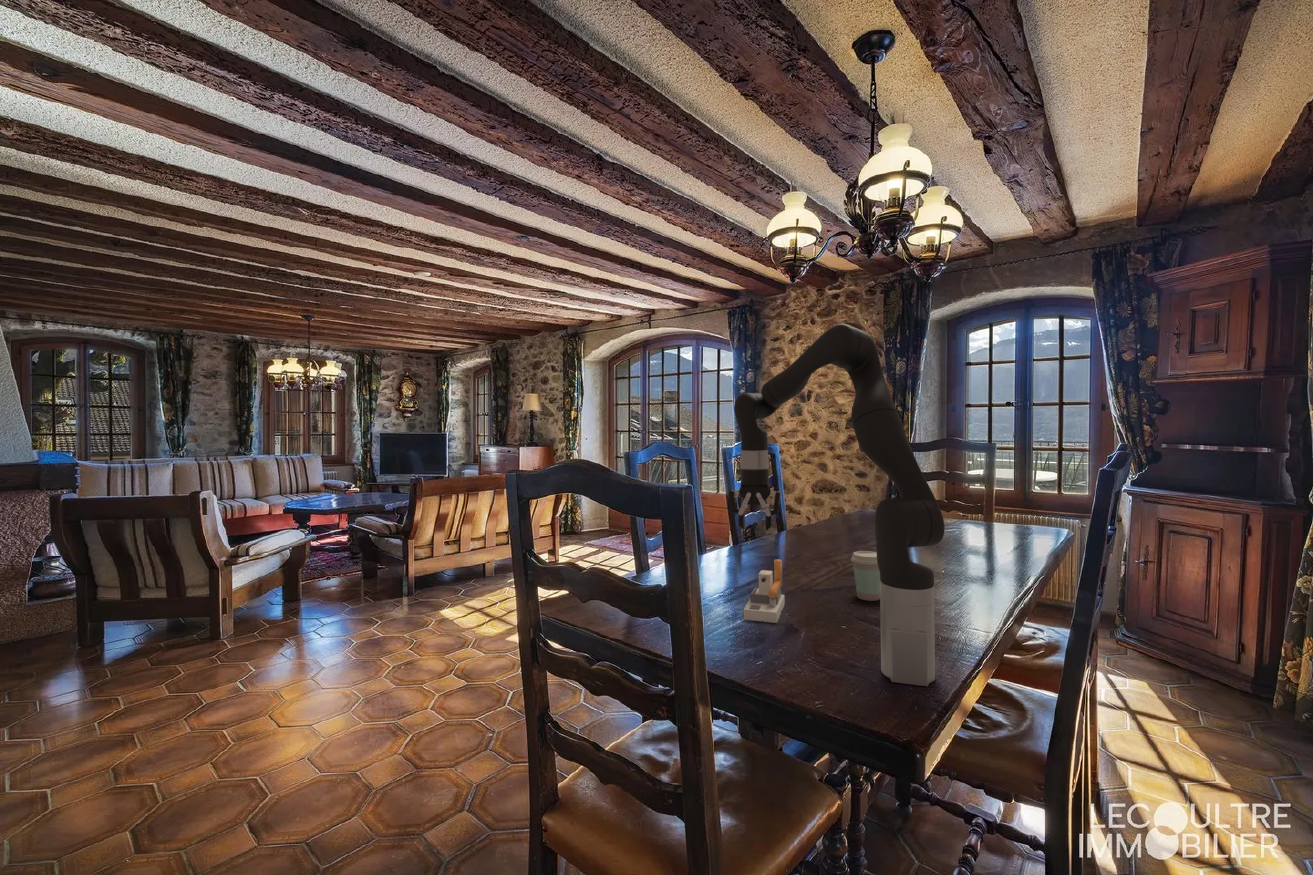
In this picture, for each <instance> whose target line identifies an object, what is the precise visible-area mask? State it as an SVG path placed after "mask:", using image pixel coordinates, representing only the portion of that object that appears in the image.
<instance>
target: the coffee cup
mask: <svg viewBox="0 0 1313 875" xmlns="http://www.w3.org/2000/svg"><path fill="white" fill-rule="evenodd" d="M850 560H851V561H852V567H853V573H854V574H853V575H854V581H855V588H856V589H855V590H856V596H857V598H858V599H860V600H862V601H871V602H872V601H873V602H874V601H875V602H876V601H880V571H879V567H878V563H877V551H872V550H871V551H870V550H858V551H854V552H853V554H852V556H851V559H850Z"/></svg>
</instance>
